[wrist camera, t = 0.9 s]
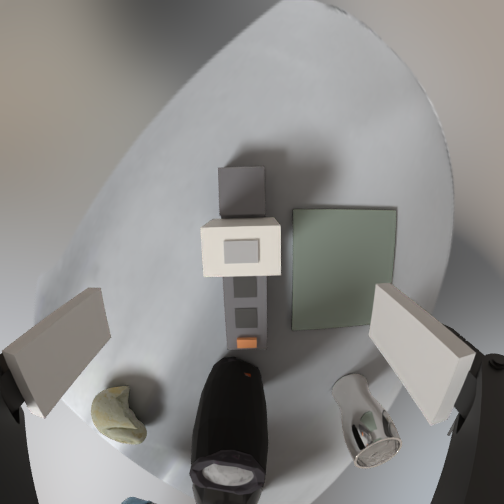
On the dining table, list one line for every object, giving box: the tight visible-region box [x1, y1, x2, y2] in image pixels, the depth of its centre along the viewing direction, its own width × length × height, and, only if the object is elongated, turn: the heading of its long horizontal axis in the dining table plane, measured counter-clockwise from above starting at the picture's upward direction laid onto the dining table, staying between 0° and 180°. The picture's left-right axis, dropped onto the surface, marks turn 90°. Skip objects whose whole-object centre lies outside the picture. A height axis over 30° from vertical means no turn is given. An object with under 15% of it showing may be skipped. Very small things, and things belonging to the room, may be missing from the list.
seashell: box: [91, 386, 147, 444], centre depth 38 cm, size 13×8×10 cm
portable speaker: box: [190, 357, 268, 495], centre depth 30 cm, size 8×9×19 cm
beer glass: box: [332, 374, 402, 468], centre depth 33 cm, size 7×7×15 cm
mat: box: [292, 209, 396, 331], centre depth 36 cm, size 16×14×1 cm
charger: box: [201, 217, 281, 277], centre depth 29 cm, size 4×7×8 cm, turn 92°
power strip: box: [218, 166, 267, 350], centre depth 34 cm, size 22×5×4 cm, turn 2°
